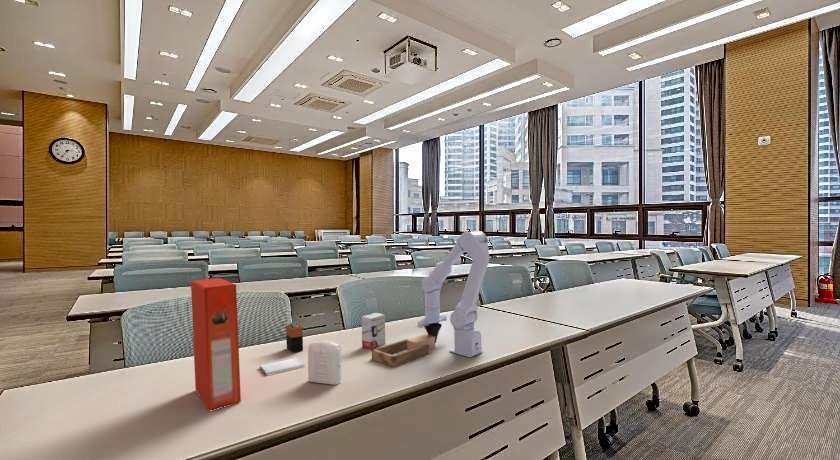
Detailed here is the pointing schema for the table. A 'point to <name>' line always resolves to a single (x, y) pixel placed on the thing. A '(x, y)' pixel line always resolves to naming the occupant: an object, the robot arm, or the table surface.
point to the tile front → (415, 343)
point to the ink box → (373, 330)
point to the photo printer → (324, 362)
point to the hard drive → (282, 366)
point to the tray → (385, 353)
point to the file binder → (216, 342)
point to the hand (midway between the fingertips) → (433, 342)
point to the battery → (294, 337)
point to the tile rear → (428, 340)
